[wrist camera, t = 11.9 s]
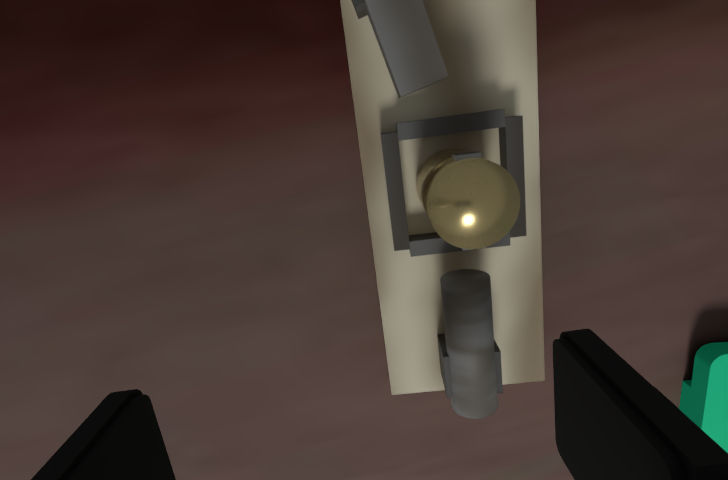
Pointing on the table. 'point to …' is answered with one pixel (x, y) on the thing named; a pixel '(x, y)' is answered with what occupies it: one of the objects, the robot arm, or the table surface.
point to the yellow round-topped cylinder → (467, 198)
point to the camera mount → (708, 392)
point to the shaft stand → (405, 212)
